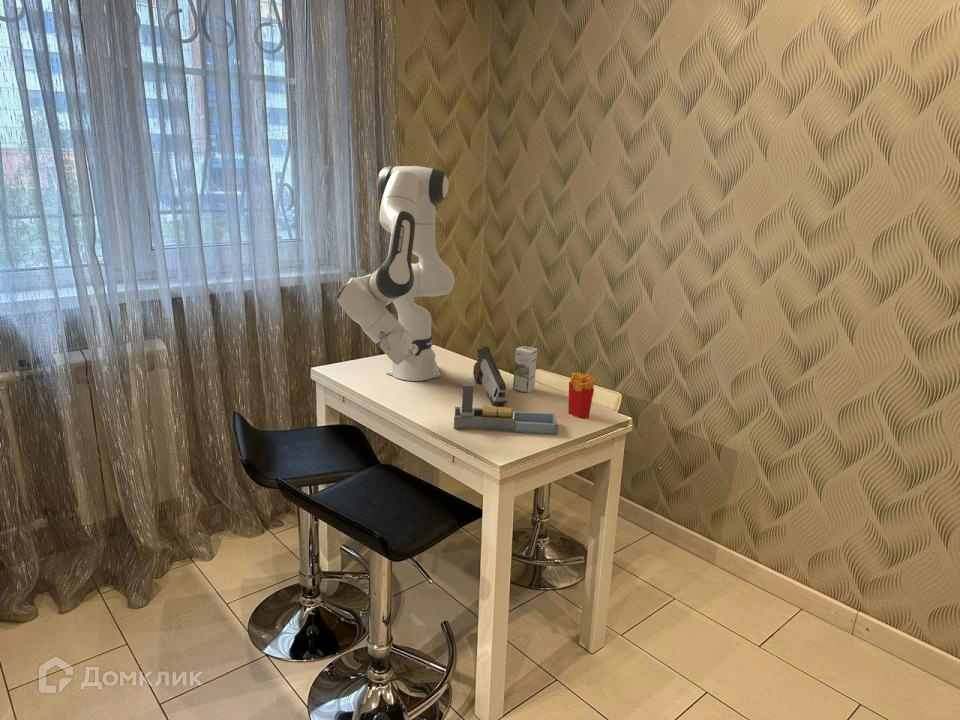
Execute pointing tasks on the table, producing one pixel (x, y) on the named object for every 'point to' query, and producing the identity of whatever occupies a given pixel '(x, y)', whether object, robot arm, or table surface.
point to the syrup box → (524, 369)
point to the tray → (535, 423)
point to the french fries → (580, 395)
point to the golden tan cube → (489, 411)
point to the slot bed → (482, 422)
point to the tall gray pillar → (467, 399)
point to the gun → (489, 377)
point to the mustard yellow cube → (504, 412)
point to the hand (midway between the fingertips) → (417, 363)
